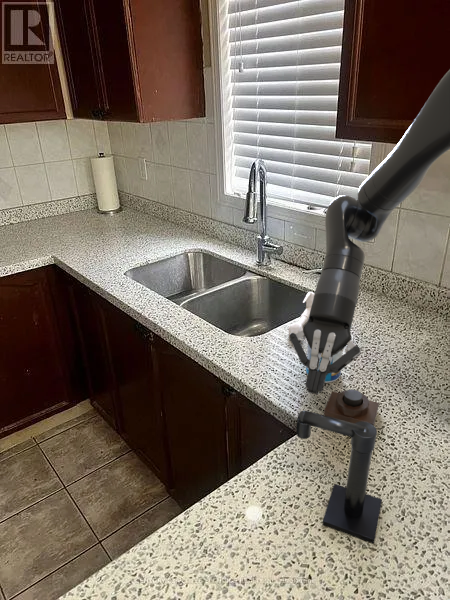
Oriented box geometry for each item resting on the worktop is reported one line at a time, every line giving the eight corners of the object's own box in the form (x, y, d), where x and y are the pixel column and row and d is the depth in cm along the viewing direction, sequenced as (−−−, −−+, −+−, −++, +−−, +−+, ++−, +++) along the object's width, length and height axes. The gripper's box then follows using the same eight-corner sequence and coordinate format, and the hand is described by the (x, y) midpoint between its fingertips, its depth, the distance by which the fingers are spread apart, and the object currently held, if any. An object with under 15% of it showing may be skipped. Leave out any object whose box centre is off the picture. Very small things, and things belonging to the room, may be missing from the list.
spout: (375, 446, 68) (378, 424, 66) (371, 462, 65) (375, 439, 63) (299, 425, 73) (301, 403, 70) (293, 439, 70) (294, 416, 68)
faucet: (287, 349, 126) (284, 326, 119) (307, 306, 137) (305, 282, 130) (301, 352, 124) (299, 329, 118) (319, 309, 135) (318, 285, 128)
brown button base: (377, 410, 96) (380, 396, 94) (372, 432, 90) (374, 416, 88) (331, 399, 99) (332, 384, 98) (323, 418, 94) (324, 403, 92)
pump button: (362, 398, 94) (363, 391, 93) (359, 408, 91) (360, 402, 90) (345, 394, 95) (346, 387, 94) (342, 404, 92) (342, 397, 92)
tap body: (381, 503, 75) (393, 436, 68) (373, 544, 69) (386, 474, 62) (333, 487, 78) (341, 421, 72) (322, 525, 72) (329, 456, 65)
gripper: (295, 286, 80) (271, 380, 75) (372, 298, 75) (350, 400, 70) (302, 300, 86) (280, 387, 82) (373, 312, 81) (353, 406, 77)
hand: (312, 393), depth 76 cm, fingers closed
